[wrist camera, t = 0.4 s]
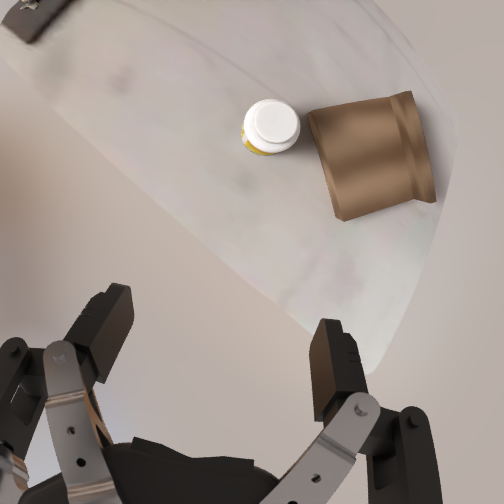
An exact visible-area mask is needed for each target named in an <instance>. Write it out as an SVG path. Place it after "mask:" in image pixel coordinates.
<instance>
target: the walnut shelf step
mask: <svg viewBox="0 0 504 504" xmlns="http://www.w3.org/2000/svg"><path fill="white" fill-rule="evenodd" d="M306 115H307V118H308V121H309V124H310V127H311V130H312V134H313V137H314V140H315V143H316V146H317V150H318V153H319V157H320V160H321V163H322V167H323V170H324V174H325V178H326V181H327V185H328V189H329V192H330V196H331V200H332V204H333V208H334V212H335V216H336V218H338V219H340V220H342V221H343V222H345V221H348V220H351V219H354V218H357V217H360V216H363V215H366V214H369V213H372V212H375V211H378V210H381V209H384V208H387V207H391V206H394V205H397V204H400V203H403V202H406V201H409V200H412V199H416V200H420V201H424V202H427V203H434V202H436V194H435V188H434V182H433V176H432V170H431V165H430V160H429V155H428V151H427V146H426V142H425V137H424V133H423V129H422V126H421V122H420V118H419V115H418V111H417V108H416V104H415V101H414V98H413V95H412V92H411V91H405V92H402V93H399V94H396V95H393V96H390V97H385V98H377V99H371V100H364V101H358V102H353V103H347V104H342V105H336V106H331V107H327V108H322V109H317V110H313V111H311V112H309V113H308V114H306Z"/></svg>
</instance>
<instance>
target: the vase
mask: <svg viewBox="0 0 504 504" xmlns="http://www.w3.org/2000/svg"><path fill="white" fill-rule="evenodd" d="M22 1H23V2H25V3H26V5H25V6H24V7H21V8H22V9H23V8H24V9H26V8H28V7H30V8H31V9H36V7H38V5H37V3H36V1H35V0H22ZM21 8H20V9H21Z"/></svg>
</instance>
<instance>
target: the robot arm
mask: <svg viewBox="0 0 504 504" xmlns="http://www.w3.org/2000/svg"><path fill="white" fill-rule="evenodd" d="M133 321H134V308H133V302H132V295H131V289H130V287H129V286H126V285H121V284H117V283H112V284H111V285H110V286H109V288H108V289H107V291H106V292H105V293H103V292H100V293H98V294H97V295H95V296H94V297H92V298H91V299H90V301H89V302H88V304H87V305H86V306H85V308H84V309H83V311H82V312H81V315H79V317H78V318H77V320H76V321H75V322H74V324H73V326H72V327H71V328H70V330H69V331H68V333H67V335H66V336H65V338H64V339H63V340H59V341H55V342H52V343H51V344H50V345H48V346H47V348H46V349H42V348H29V347H28V346H27V344H26V342H25V341H24V340H23V339H22V338H19V337H14V338H11V339H8V340H7V341H6V342H5V343H4V344H3V345H2V346H1V348H0V504H326V503H327V501H328V500H329V499H330V498H331V496H332V495H333V494H334V492H335V491H336V490H337V488H338V487H339V485H340V484H341V483H342V481H343V480H344V478H345V477H346V476H347V474H348V473H349V471H350V470H351V468H352V467H353V465H354V464H355V461H356V458H355V456H356V454H357V453H361V454H365V455H366V460H367V476H368V502H369V504H443V501H442V492H441V485H440V478H439V471H438V465H437V459H436V454H435V448H434V443H433V439H432V434H431V430H430V425H429V421H428V418H427V416H426V414H425V413H424V412H423V411H422V410H421V409H420V408H417V407H414V406H409V407H406V408H404V409H403V410H402V411H401V412H397V411H393V410H389V409H385V408H383V407H380V406H379V403H378V402H377V400H376V399H375V398H374V397H373V396H371V395H369V393H368V389H367V385H366V380H365V376H364V371H363V367H362V363H361V359H360V355H359V351H358V347H357V343H356V341H355V340H354V339H353V337H352V336H351V335H350V333H343V329H342V325H341V322H340V320H334V319H325V318H322V319H321V320H320V322H319V325H318V327H317V330H316V332H315V335H314V337H313V340H312V342H311V345H310V351H309V359H310V370H311V380H312V392H313V393H312V394H313V406H314V421H318V422H323V425H324V429H323V430H322V431H321V432H320V434H319V435H318V436H317V437H316V439H315V440H314V441H313V442H312V444H311V445H310V446H309V447H308V448H307V450H306V451H305V452H304V453H303V454H302V455H301V457H300V458H299V459H298V460H297V461H296V462H295V463H294V464H293V466H291V468H290V469H289V470H288V471H287V472H286V473H285V474H284V475H283V476H282V477H281V478H280V479H277V478H276V477H275V476H274V475H272V474H271V473H269V472H267V471H266V470H263V469H261V468H259V467H256V466H254V460H253V459H243V458H242V459H241V458H233V457H225V456H220V457H204V458H191V457H188V456H186V455H183V454H181V453H179V452H176V451H175V450H173V449H171V448H169V447H166V446H164V445H162V444H159V443H155V442H151V441H148V440H144V439H140V438H137V437H134V438H133V441H132V443H118V444H114V443H113V441H112V439H111V436H110V434H109V433H108V430H107V428H106V426H105V423H104V421H103V418H102V415H101V412H100V409H99V406H98V403H97V399H96V396H95V393H94V390H93V386H94V384H95V382H96V381H97V382H100V383H103V384H104V383H105V381H106V379H107V377H108V375H109V373H110V371H111V368H112V366H113V364H114V362H115V360H116V358H117V356H118V353H119V351H120V349H121V347H122V345H123V343H124V341H125V339H126V337H127V335H128V333H129V331H130V329H131V326H132V325H133ZM18 386H19V387H18ZM17 388H18V389H17ZM16 390H17V391H16ZM15 392H16V394H15ZM14 394H15V396H14ZM13 396H14V398H13ZM12 398H13V400H12ZM48 398H49V400H47V399H48ZM11 400H12V402H11ZM44 407H45V409H46V414H47V419H48V424H49V428H50V433H51V437H52V441H53V445H54V448H55V452H56V456H57V459H58V462H59V466H60V469H61V473H59V474H57V475H55V476H53V477H51V478H49V479H47V480H45V481H43V482H41V483H39V484H37V485H35V486H33V487H31V488H28V485H27V482H28V481H29V475H28V471H27V467H26V465H25V463H24V460H25V456H26V454H27V451H28V448H29V445H30V442H31V440H32V437H33V434H34V431H35V429H36V426H37V424H38V421H39V419H40V416H41V414H42V411H43V409H44Z"/></svg>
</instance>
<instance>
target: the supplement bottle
mask: <svg viewBox="0 0 504 504" xmlns="http://www.w3.org/2000/svg"><path fill="white" fill-rule="evenodd" d="M299 133H300V120H299V117H298V115H297V113H296V111H295V110H294V109H293V108H292V107H291V106H290V105H289V104H287V103H285V102H283V101H281V100H277V99H265V100H262V101H259V102H257V103H256V104H254V105H253V106H252V107H251V108H250V109H249V110H248V112H247V114H246V116H245V119H244V122H243V125H242V129H241V137H242V140H243V143H244V145H245V146H246V147H247V148H248V149H249V150H250V151H251V152H253V153H255V154H258V155H271V154H275V153H278V152H282V151H284V150H286V149H288V148H290V147H291V146H292V145H293V144H294V143H295V142H296V140H297V138H298V136H299Z"/></svg>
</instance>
